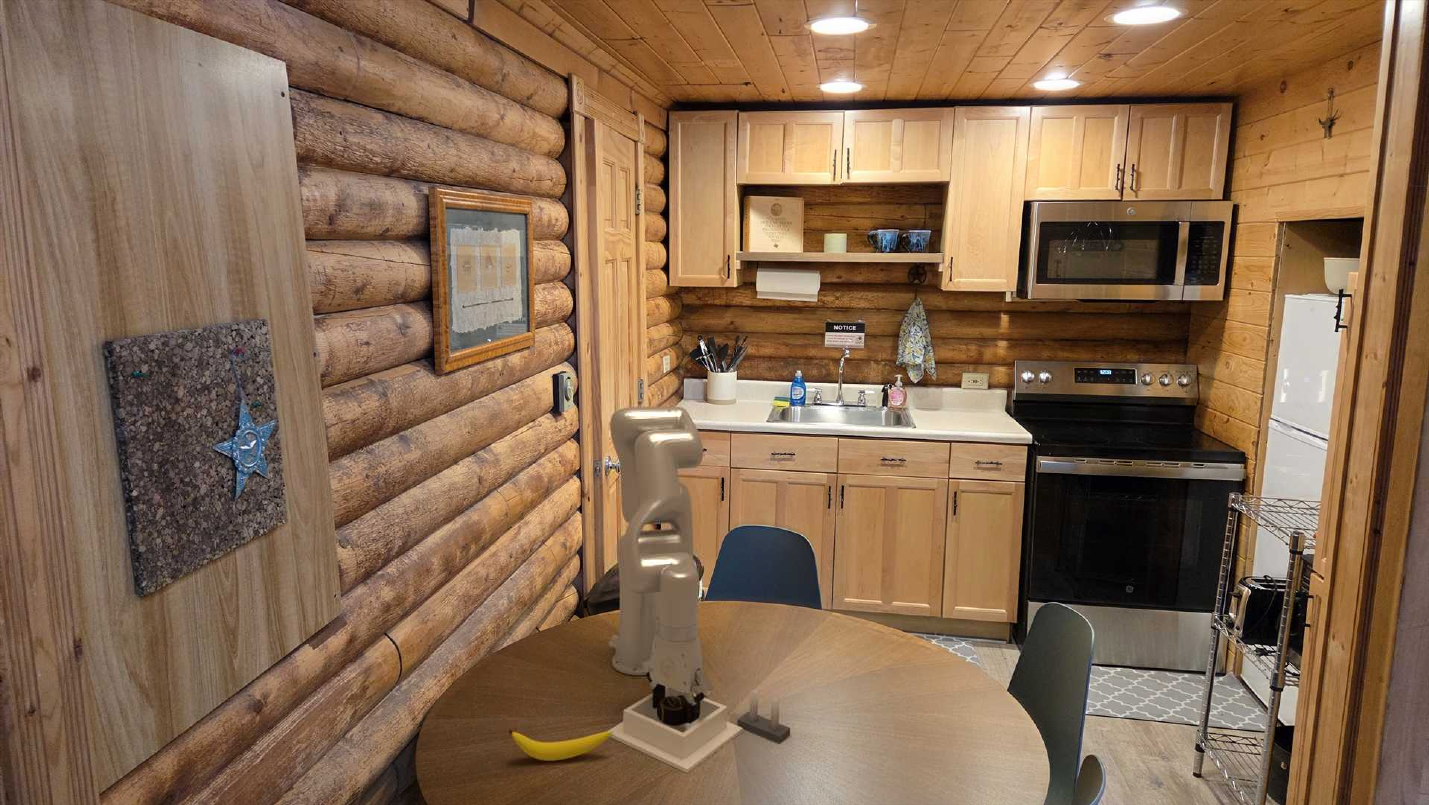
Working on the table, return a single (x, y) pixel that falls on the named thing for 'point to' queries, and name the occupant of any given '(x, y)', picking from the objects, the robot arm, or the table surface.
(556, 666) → the table surface
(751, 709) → the peg board plate
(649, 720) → the white square tray
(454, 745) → the table surface
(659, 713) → the tape measure
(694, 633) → the robot arm
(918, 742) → the table surface
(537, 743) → the banana
